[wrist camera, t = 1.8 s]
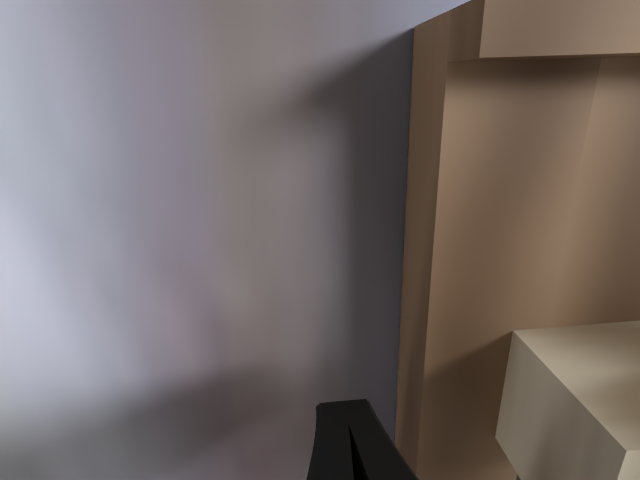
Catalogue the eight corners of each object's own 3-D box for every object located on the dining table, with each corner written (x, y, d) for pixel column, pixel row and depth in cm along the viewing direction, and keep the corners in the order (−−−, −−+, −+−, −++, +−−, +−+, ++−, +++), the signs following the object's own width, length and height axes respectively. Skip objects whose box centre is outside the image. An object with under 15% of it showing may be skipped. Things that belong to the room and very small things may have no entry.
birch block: (646, 319, 11) (819, 431, 8) (613, 425, 13) (747, 561, 9) (513, 330, 11) (626, 451, 8) (495, 437, 13) (583, 582, 9)
